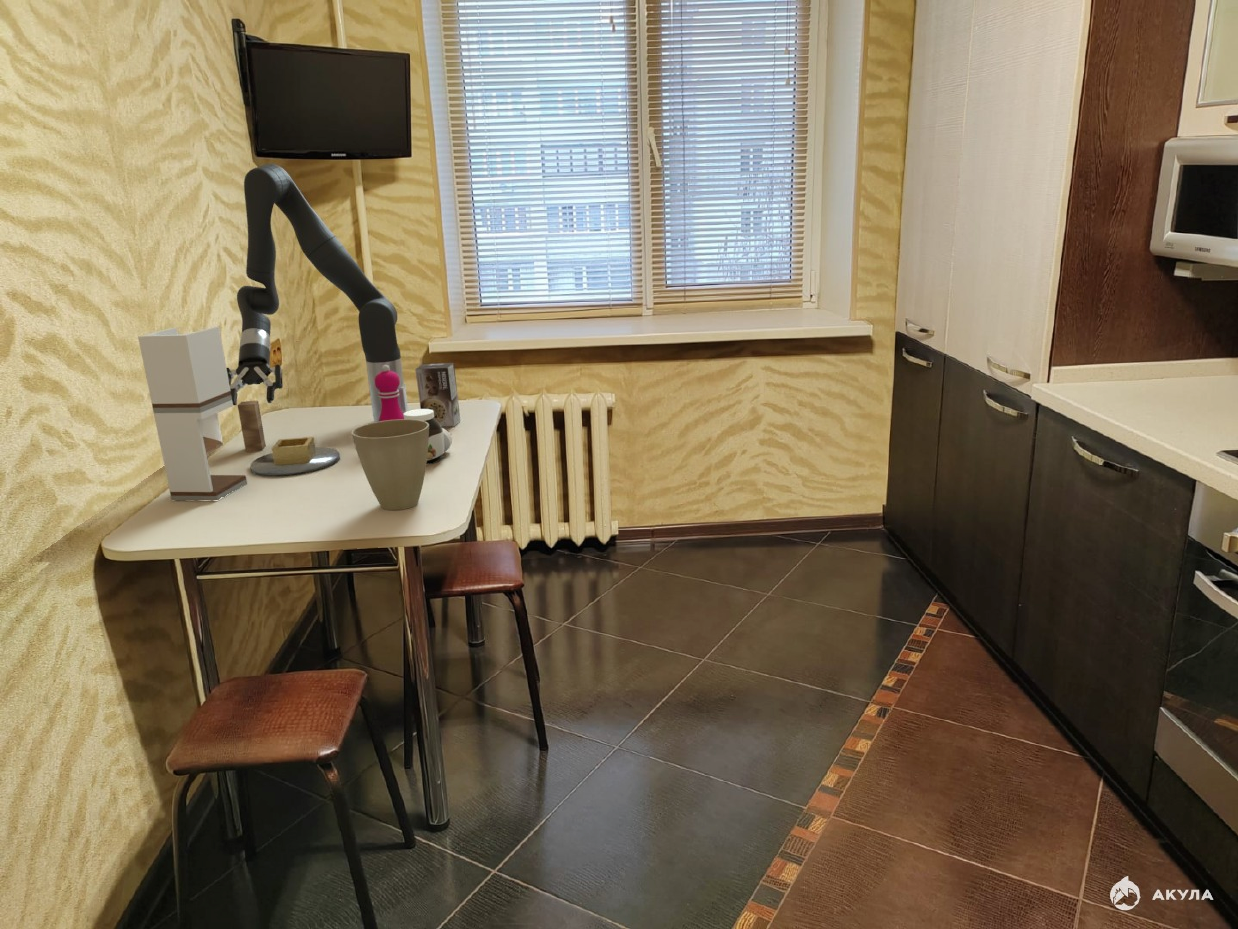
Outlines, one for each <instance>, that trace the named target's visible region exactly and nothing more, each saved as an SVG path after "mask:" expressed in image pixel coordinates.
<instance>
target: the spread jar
mask: <svg viewBox="0 0 1238 929" xmlns="http://www.w3.org/2000/svg"><path fill="white" fill-rule="evenodd" d="M404 419H413V420H421V421H425V422H427V423H428V424H429V440H428V455H427V463H426V465H429V464H430V465H431V464H434V462H435V463H437V462H439V460H441V459H442V457H443V456H444V453H446V452H447V451H448V450H449V449H450V447H451V445H452V443H453V437H452V436H451V434H450V433H449V431H448V430H447V429H445V428H443V427H442V426H441V425H440V423H439V422H438V421H437V420H436V419H434V411H433V410H431V409H421V408H417V409H412V410H408V411H407V412H405V413H404ZM436 461H437V462H436Z"/></svg>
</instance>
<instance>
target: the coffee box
mask: <svg viewBox="0 0 1238 929" xmlns="http://www.w3.org/2000/svg"><path fill="white" fill-rule="evenodd" d="M414 370H415V376H416V384H417V385H416V386H417V391H418V400H419V409H431V410H433V411H434V419H436V420H437V421H438V422H439V423H440V425H441V426H442V428H443V427H446V428H447V427H455V426H457V425H458V424H459V423H460V422H461V416H460V414H461V413H460V406H459V405H460V403H459V396H458V395H459V394H458V388H457V387H458V386H457V379H456V370H455V363H454V362H444V363H441V362H440V363H422V364H421V365H419V366H418V367H416V368H415V369H414Z"/></svg>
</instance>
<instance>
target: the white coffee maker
mask: <svg viewBox="0 0 1238 929" xmlns="http://www.w3.org/2000/svg"><path fill="white" fill-rule="evenodd" d="M137 339H138V342H139V347H140V352H141V358H142V362H143V368H144V372H145V376H146V381H147V386H148V391H149V392H148V393H149V398H150V401H151V406H152V411H153V416H154V421H155V422H154V423H155V425H156V431H157V436H158V439H159V440H158V441H159V445H160V450H161V454H162V455H161V456H162V460H163V465H164V469H165V474H166V479H167V484H168V489H169V493H170V499H171V501H172V500H219V499H220V498H221V497H224V498H226V497H227V496H226V495H227V494H229V493H231V492H232V491H234V492H236V491H237V489H238V490H240V489H241V488H242V487H241V486H243V485H245V486H246V485H247V484H248V481H247V475H245V474H211V472H210V471H211V470H210V466H209V462H208V457H207V456H208V455H210V454H211V453H213V452H215V451H216V450H218V449H219V448H221V447H223V443H224V442H223V437H222V436H223V435H222V432H221V427H220V421H219V416H218V415H219V414H218V413H220V412H222V411H225V410H227V409H229V408H232V407H234V405H233V402H232V396H231V391H230V385H229V380H228V374H227V368H228V367H227V364H226V358H225V353H224V346H223V340H222V335H221V330H220V326H213V327H207V328H204V329H201V330H197V331H193V332H186V333H180V334H179V330H178V327H171V328H167V329H161V330H159V331H155V332H150V333H147V334H143V335H139V336H138V337H137ZM240 487H241V488H240ZM243 487H244V486H243ZM235 490H236V491H235ZM231 494H232V493H231ZM229 495H230V494H229ZM225 496H226V497H225ZM219 501H220V500H219Z"/></svg>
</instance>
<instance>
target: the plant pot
mask: <svg viewBox="0 0 1238 929" xmlns="http://www.w3.org/2000/svg"><path fill="white" fill-rule="evenodd" d="M351 436H352V440H353V443H354V446H355V450H356V453H357V456H358V459H359V462H360V465H361V468H362V470H363V473H364V475H365V477H366V480H367V482H368V485H369V486H370V489H371V491H372V492H373V495H374V496H375V498H376V500H377V502H378V504H379V506H380V507H381V508H382V509H384V510H387V511H388V510H389V511H400V510H406V509H408V508H409V509H410V508H412V507H415V506H416V505H417V504H418V503H419V500H420V496H421V493H422V489H423V485H424V482H425V481H424V480H425V476H426V475H425V474H426V470H427V469H426V468H427V464H426V463H427V455H428V440H429V424H428V423H427V422H425V421H421V420H413V419H397V420H387V421H380V422H374V421H373V422H371V423H367V424H363V425H361V426H358V427H355V428H354V429H352V430H351Z"/></svg>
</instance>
